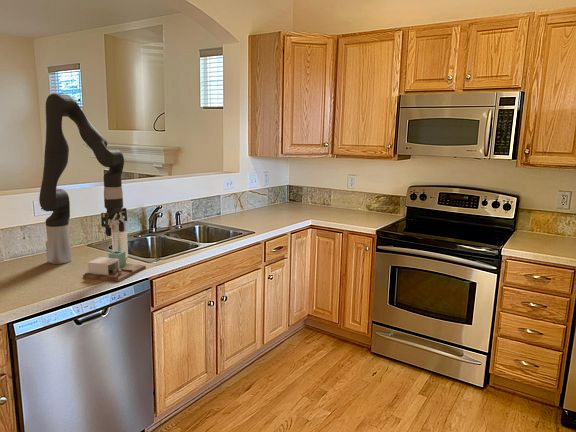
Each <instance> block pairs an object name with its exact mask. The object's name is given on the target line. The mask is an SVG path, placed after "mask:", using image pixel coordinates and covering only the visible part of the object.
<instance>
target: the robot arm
mask: <svg viewBox="0 0 576 432" xmlns="http://www.w3.org/2000/svg"><path fill="white" fill-rule="evenodd" d="M63 117H68V119H70V120H71V121H72V122H73V123H75V125H76V127H77V129H78V133H79V134H80V137H81V139H82V141H83V142H84V143H85V144H86V145H87V146H88V147H89V149H91V150H92V152H93V155H94V157H95V158H96V159H97V161H98V163H99V164H100V165H101V166H103V167H105V168H108V171H107V172H105V173H104V174H103V202H104V203H103V204H104V208H105V209H106V212H101V213H100V220H101V221H100V223H101V224H100V225H101V227H102V228H105V235H106V236H107V237H112V228H111V225H112V223H114V221H116V220H117V221H118V222H119V231H120V232H124V223H125V221H126V222H127V221H128V212H127V208H126V207H124V197H123V196H124V195H123V194H124V193H123V186H122V183H123V182H122V175H123V170H124V166H125V158H124V155H123V153H122V152H121V151H120V150H118V149H108V148H107V147H108V141H107V139H105V137H104V136H103V135H102V134H101V133H100V132H99V131H98V130H97V129H96V128H95V126H94V125H93V124H92V123H91V121H90V119H88V116H87V115H86V114H85V112H84V111H83V109H82V108H81V106H80V104H79V103H78V101H76V99H75V98H74V97H73V96H71V95H69V94H61V93H51V94H49V95H47V98H46V101H45V144H44V154H43V155H44V158H43V159H44V160H43V170H42V171H43V173H42V179H41V180H42V181H41V186H40V191H39V197H38V201H39V206H40V208H41V210H43V211H44V212H52V213H51V215H50V216H48V217H47V218H46V219H45V230H46V231H45V232H46V241H45V251H46V252H45V253H46V261H47V263H49V264H52V265H57V264H58V265H59V264H66V263H69V262H72V250H71V235H70V225H69V221H70V217H71V208H70V207H71V204H70V203H71V201H70V196H69V194H68V192H67V191H66V190H65V189H63V188H57V186H58V182H59V180H60V177H61V176H62V174H63V173H64V171H65V170H66V168H67V166H68V162H69V155H70V153H69V152H70V151H69V150H70V147H69V144H68V141H67V139H66V136H65V135H64V132H63ZM123 216H124V217H125V218H123Z"/></svg>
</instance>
